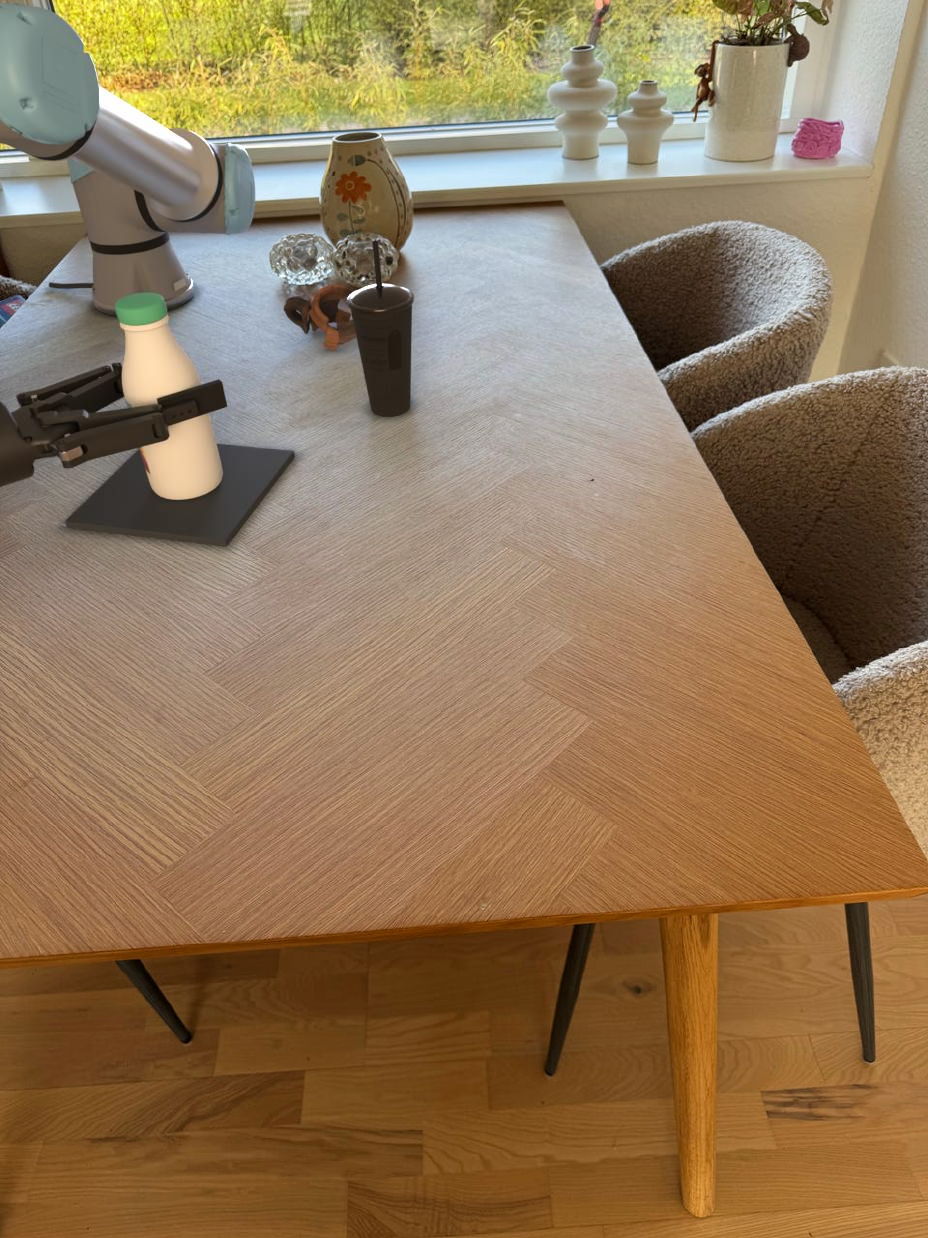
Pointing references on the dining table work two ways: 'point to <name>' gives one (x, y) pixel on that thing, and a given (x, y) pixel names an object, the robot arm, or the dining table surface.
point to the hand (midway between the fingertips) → (205, 379)
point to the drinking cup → (384, 341)
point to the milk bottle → (154, 373)
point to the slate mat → (196, 520)
